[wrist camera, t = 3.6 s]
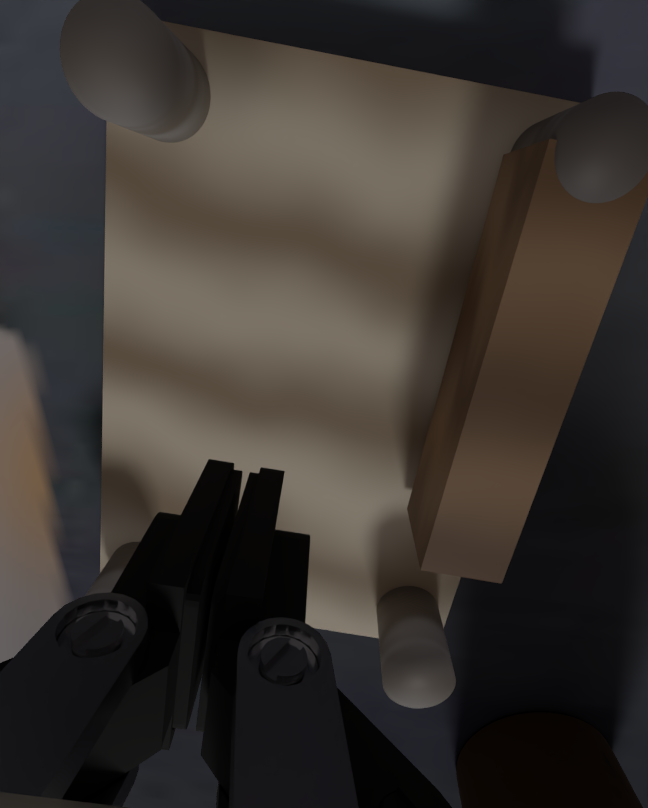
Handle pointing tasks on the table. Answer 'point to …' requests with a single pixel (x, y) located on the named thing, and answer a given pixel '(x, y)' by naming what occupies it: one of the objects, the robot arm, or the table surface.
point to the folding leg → (527, 329)
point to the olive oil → (541, 766)
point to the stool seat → (287, 296)
